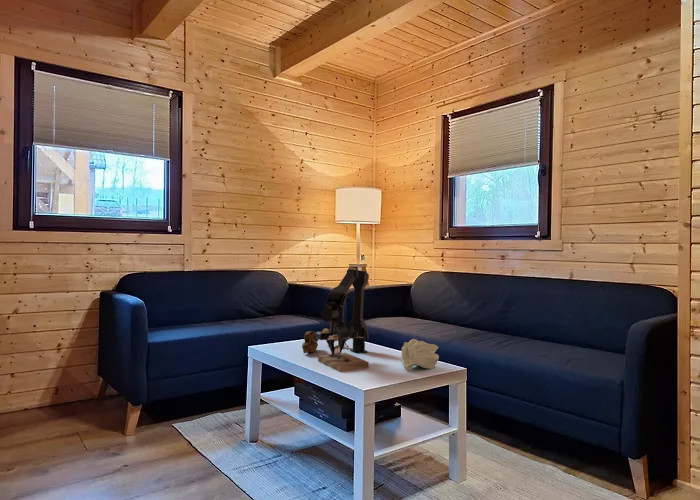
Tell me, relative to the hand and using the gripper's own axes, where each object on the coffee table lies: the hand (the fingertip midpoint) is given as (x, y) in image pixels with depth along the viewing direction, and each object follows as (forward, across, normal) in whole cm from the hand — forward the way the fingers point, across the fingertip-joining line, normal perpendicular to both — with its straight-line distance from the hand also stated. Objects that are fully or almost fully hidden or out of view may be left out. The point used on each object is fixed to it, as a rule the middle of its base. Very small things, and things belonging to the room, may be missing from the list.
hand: (336, 353), depth 215 cm
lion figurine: (+4, +14, +29) cm, 33 cm away
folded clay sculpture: (+4, +26, -25) cm, 36 cm away
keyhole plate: (+4, 0, -6) cm, 7 cm away
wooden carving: (+4, -2, +22) cm, 22 cm away
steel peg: (+3, 0, 0) cm, 3 cm away
